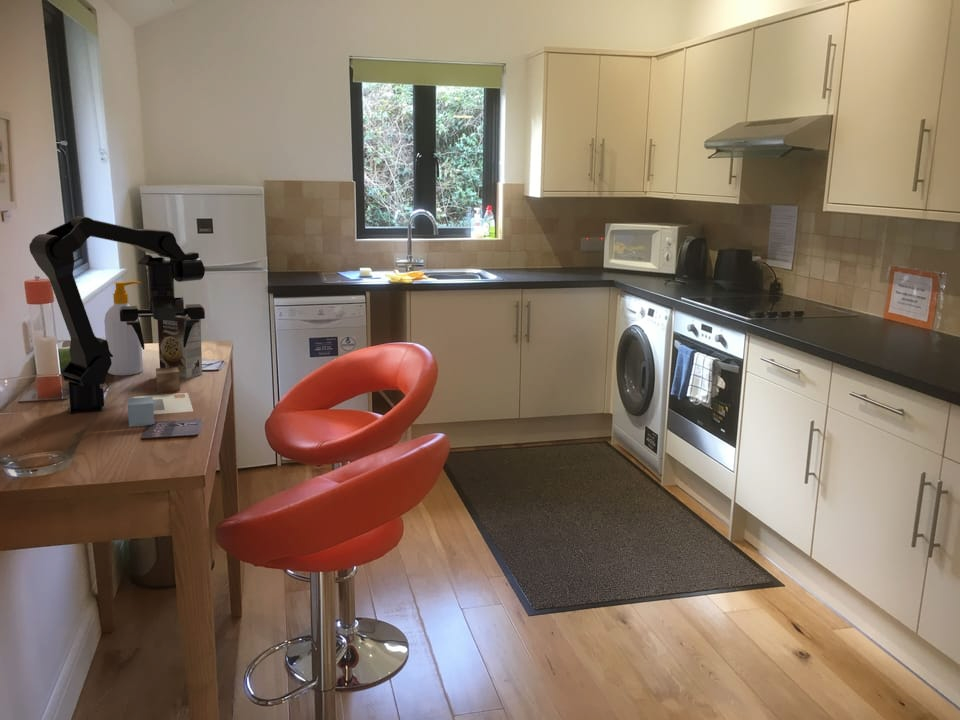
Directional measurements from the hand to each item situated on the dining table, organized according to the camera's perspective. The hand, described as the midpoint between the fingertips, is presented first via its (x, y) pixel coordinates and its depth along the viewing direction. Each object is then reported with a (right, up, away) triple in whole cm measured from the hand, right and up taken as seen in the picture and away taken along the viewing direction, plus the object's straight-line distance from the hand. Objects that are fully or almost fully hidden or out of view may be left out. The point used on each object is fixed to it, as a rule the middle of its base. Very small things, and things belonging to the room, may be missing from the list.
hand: (164, 348), depth 197 cm
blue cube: (+3, -16, -22) cm, 27 cm away
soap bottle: (-17, -6, +19) cm, 27 cm away
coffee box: (-3, -7, +18) cm, 20 cm away
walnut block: (-1, -10, +4) cm, 11 cm away
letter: (+3, -13, -8) cm, 16 cm away
